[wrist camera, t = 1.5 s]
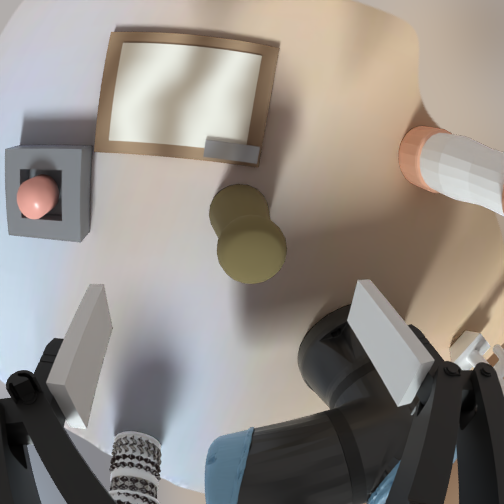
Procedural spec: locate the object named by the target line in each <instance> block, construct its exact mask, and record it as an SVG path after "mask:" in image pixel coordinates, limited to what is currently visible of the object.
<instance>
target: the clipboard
mask: <svg viewBox="0 0 504 504" xmlns="http://www.w3.org/2000/svg"><path fill="white" fill-rule="evenodd" d="M278 53H279V48H277V47H272V46H267V45H262V44H257V43H251V42H245V41H239V40H232V39H225V38H218V37H209V36H200V35H190V34H177V33H159V32H111V35H110V40H109V45H108V50H107V55H106V60H105V66H104V72H103V78H102V84H101V91H100V98H99V106H98V114H97V123H96V134H95V145H94V152H105V153H123V154H139V155H152V156H164V157H175V158H185V159H195V160H204V161H213V162H221V163H229V164H237V165H244V166H252V167H259V161H260V155H261V149H262V143H263V138H264V132H265V126H266V121H267V115H268V109H269V103H270V98H271V92H272V86H273V81H274V75H275V70H276V64H277V58H278Z"/></svg>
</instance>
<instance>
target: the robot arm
mask: <svg viewBox="0 0 504 504" xmlns="http://www.w3.org/2000/svg"><path fill="white" fill-rule="evenodd" d="M112 329H113V327H112V322H111V318H110V313H109V308H108V304H107V299H106V293H105V288H104V284H90V285H89V287H88V289H87V291H86V293H85V295H84V297H83V299H82V301H81V303H80V305H79V307H78V309H77V312H76V314H75V316H74V318H73V320H72V322H71V324H70V327H69V329H68V331H67V333H66V335H65V338H64V339H58V338H54V339H53V340H52V341H51V342H50V343H49V344H48V345H47V346H46V348H45V350H44V352H43V355H42V357H41V359H40V362H39V363H38V366H37V368H36V370H35V372H34V374H33V373H32V372H30V371H27V370H21V371H17V372H15V373H14V374H12V375H11V376H10V377H9V378H8V380H7V383H6V389H7V391H8V393H9V394H10V396H11V398H5V399H0V504H41V501H40V498H39V494H38V490H37V487H36V483H35V479H34V475H33V471H32V467H31V463H30V458H29V454H28V448H27V445H28V444H34V446H35V448H36V450H37V452H38V454H39V456H40V458H41V460H42V462H43V464H44V465H45V467H46V469H47V471H48V472H49V474H50V476H51V478H52V479H53V481H54V483H55V485H56V486H57V488H58V490H59V491H60V493H61V494H62V496H63V498H64V499H65V501H66V502H67V504H117V503H116V501H115V500H114V499H113V498H112V496H111V495H110V494H109V493H108V491H107V490H106V489H105V488H104V486H103V485H102V484H101V482H100V481H99V480H98V478H97V477H96V476H95V474H94V473H93V471H92V470H91V469H90V467H89V466H88V464H87V463H86V461H85V460H84V459H83V457H82V456H81V454H80V453H79V451H78V450H77V448H76V446H75V445H74V443H73V442H72V440H71V439H70V437H69V435H68V434H67V432H66V431H65V429H64V423H65V419H66V421H67V423H68V424H69V426H70V427H74V428H81V429H87V426H88V421H89V417H90V412H91V408H92V404H93V399H94V395H95V391H96V387H97V383H98V379H99V375H100V371H101V368H102V364H103V360H104V357H105V353H106V350H107V346H108V343H109V339H110V336H111V332H112ZM298 366H299V369H300V372H301V374H302V377H303V379H304V381H305V383H306V384H307V385H308V387H309V388H311V389H312V390H313V391H314V392H315V393H316V394H317V395H318V396H319V397H320V398H321V399H322V400H323V401H324V402H325V404H326V405H327V406H328V407H329V408H330V410H327V411H324V412H320V413H317V414H313V415H310V416H306V417H302V418H298V419H294V420H290V421H286V422H282V423H277V424H273V425H268V426H264V427H259V428H254V427H250V428H249V429H248V430H245V431H240V432H236V433H232V434H227V435H223V436H220V437H218V438H217V439H215V440H214V441H213V443H212V444H211V446H210V448H209V450H208V454H207V458H206V465H205V497H206V504H363V503H367V504H444V500H445V496H446V492H447V488H448V483H449V479H450V474H451V469H452V464H453V463H454V462H455V460H456V459H457V461H458V478H459V504H504V395H503V391H502V388H501V385H500V382H499V379H498V375H497V372H496V371H495V369H494V368H493V367H492V366H491V365H489V364H488V363H484V362H479V363H478V364H476V366H475V368H474V369H473V370H462V369H461V368H460V367H459V366H458V365H457V364H455V363H453V362H449V361H444V360H443V359H442V357H441V356H440V355H439V354H438V352H437V351H436V350H435V348H434V347H433V346H432V345H431V344H430V343H429V341H428V340H427V338H425V336H424V335H423V333H422V332H421V331H420V330H419V329H417V328H416V327H415V326H413V325H412V324H411V325H407V324H406V323H405V321H404V320H403V319H402V318H401V316H400V315H399V314H398V313H397V312H396V310H395V309H394V308H393V307H392V305H391V304H390V303H389V302H388V301H387V299H386V298H385V297H384V296H383V294H382V293H381V292H380V291H379V290H378V289H377V287H376V286H375V285H374V284H373V283H372V281H371V280H370V279H367V280H358V281H357V285H356V289H355V293H354V297H353V301H352V305H348V306H345V307H343V308H340V309H338V310H336V311H334V312H332V313H330V314H329V315H327V316H326V317H324V318H323V319H322V320H320V321H319V322H318V323H317V324H316V325H315V326H314V327H313V328H312V329H311V330H310V331H309V333H308V334H307V335H306V337H305V338H304V340H303V342H302V344H301V346H300V349H299V353H298Z"/></svg>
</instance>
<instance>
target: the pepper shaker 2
mask: <svg viewBox="0 0 504 504" xmlns="http://www.w3.org/2000/svg"><path fill="white" fill-rule="evenodd" d="M399 164H400V168H401V171H402V173H403V175H404V177H405V178H406V179H407V180H408V181H409V182H410V183H411V184H414V185H416V186H418V187H421V188H423V189H425V190H427V191H430V192H433V193H442V194H444V195H446V196H448V197H450V198H452V199H455V200H459V201H463V202H468V203H472V204H477V205H481V206H483V207H485V208H488V209H490V210H492V211H494V212H496V213H498V214H500V215H502V216H504V152H502V151H499V150H495V149H492V148H490V147H488V146H486V145H483V144H481V143H479V142H477V141H475V140H472V139H471V138H469V137H466V136H461V135H454V134H452V133H450V132H448V131H447V130H445V129H440V128H434V127H427V126H418V127H415V128H413V129H411V130H410V131H409V132H408V133H407V134H406V135H405V137H404V138H403V140H402V142H401V145H400V149H399Z"/></svg>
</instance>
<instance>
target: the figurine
mask: <svg viewBox="0 0 504 504" xmlns="http://www.w3.org/2000/svg"><path fill="white" fill-rule="evenodd" d="M489 348H490V345H489V344H488V342H487V341H486V340H485V339H484V337H483V336H482V335H481V333H477V332H472V331H466V330H465V332H464V333H463V334H462V335H461V336H460V337H459V338H458V339H457V341H456V342H455V343H454V344H453V345H452V346H451V347H450V348H449V350H450V357H451V362H453V363H455V364H457V365H458V366H459V367H460V368H461V369H462V370H470V369H471V368H472V367H474V368H475V366H476V364H478V363H479V362H484V363H488V362H487V361H486V360H485V359H484V358H483V354H484V353H485V352H486V351H487V350H488V349H489ZM493 352H494V353H495V354H496V355H497V357H498V358H499V361H498V362H497V363H496V365H495V366H494V367H493V368H494V369H495V371H496V372H497V375H498V379H499V382H500V385H501V388H502V391H503V395H504V380H503V377H504V349H503V348H502V347H501V346H500V345H498V344H496V345H495V346H494V347H493ZM488 364H489V363H488ZM489 365H490V364H489Z"/></svg>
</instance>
